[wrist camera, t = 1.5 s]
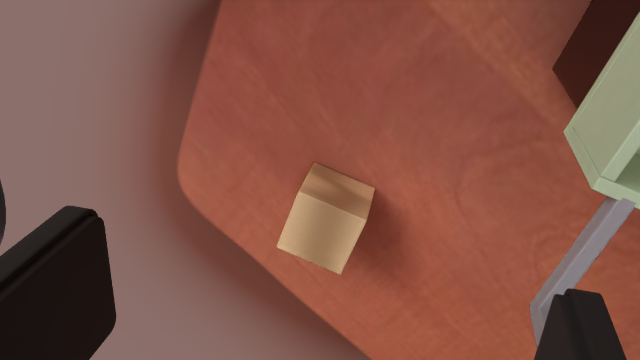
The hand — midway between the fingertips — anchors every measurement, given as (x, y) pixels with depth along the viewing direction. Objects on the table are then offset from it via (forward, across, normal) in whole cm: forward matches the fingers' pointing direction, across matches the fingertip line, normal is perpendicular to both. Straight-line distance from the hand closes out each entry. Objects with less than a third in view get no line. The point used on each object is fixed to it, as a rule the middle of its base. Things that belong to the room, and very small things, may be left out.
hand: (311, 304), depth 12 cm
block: (+21, +3, +9) cm, 23 cm away
